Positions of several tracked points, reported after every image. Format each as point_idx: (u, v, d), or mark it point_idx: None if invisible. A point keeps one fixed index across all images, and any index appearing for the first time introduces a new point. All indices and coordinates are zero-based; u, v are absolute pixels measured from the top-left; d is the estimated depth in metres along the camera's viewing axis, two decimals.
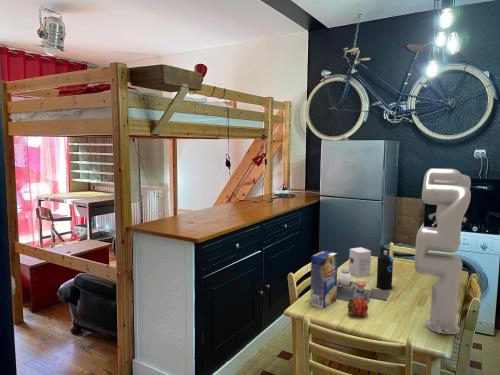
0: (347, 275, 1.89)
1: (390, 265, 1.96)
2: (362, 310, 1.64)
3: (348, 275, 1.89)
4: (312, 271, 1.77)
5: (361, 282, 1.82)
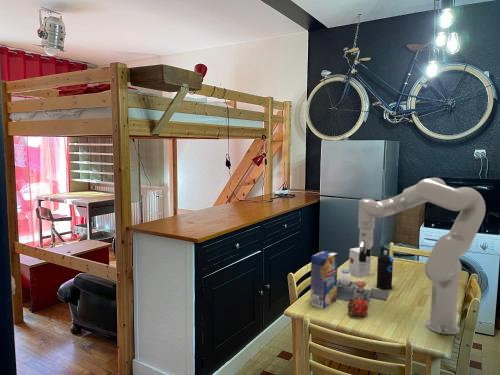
0: (347, 275, 1.89)
1: (390, 265, 1.96)
2: (362, 310, 1.64)
3: (348, 275, 1.89)
4: (312, 271, 1.77)
5: (361, 282, 1.82)
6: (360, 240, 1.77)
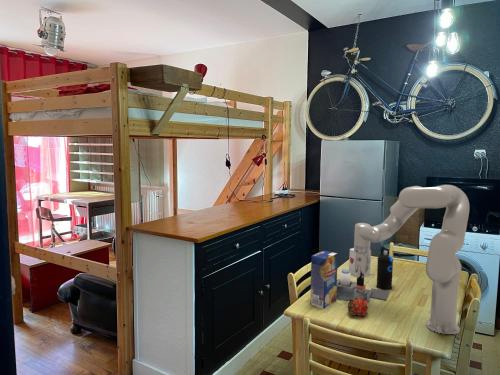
0: (347, 275, 1.89)
1: (390, 265, 1.96)
2: (362, 310, 1.64)
3: (348, 275, 1.89)
4: (312, 271, 1.77)
5: None
6: (356, 265, 1.77)
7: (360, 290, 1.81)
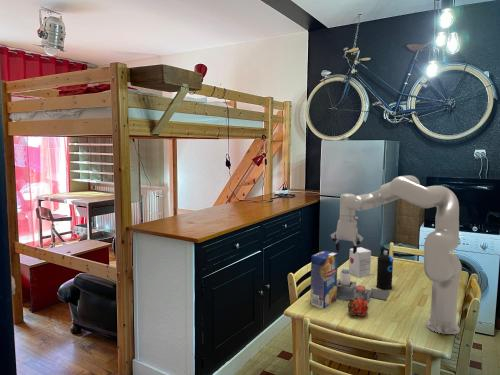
0: (347, 275, 1.89)
1: (390, 265, 1.96)
2: (362, 310, 1.64)
3: (348, 275, 1.89)
4: (312, 271, 1.77)
5: (361, 286, 1.83)
6: (356, 233, 1.86)
7: (360, 292, 1.81)
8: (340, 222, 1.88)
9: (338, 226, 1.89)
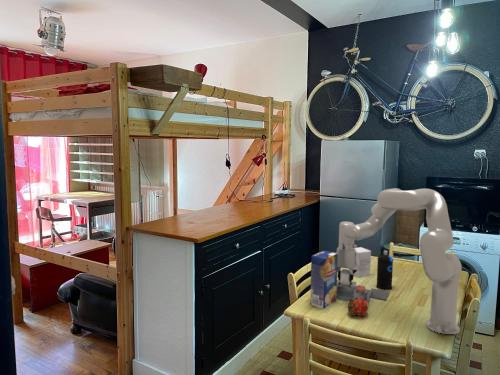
0: (347, 275, 1.89)
1: (390, 265, 1.96)
2: (362, 310, 1.64)
3: (348, 275, 1.89)
4: (312, 271, 1.77)
5: (361, 286, 1.83)
6: (355, 261, 1.87)
7: (360, 292, 1.81)
8: (339, 250, 1.90)
9: None
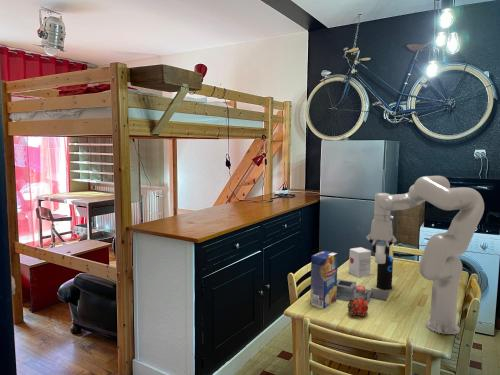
0: (383, 247, 1.85)
1: (390, 265, 1.96)
2: (362, 310, 1.64)
3: (384, 247, 1.85)
4: (312, 271, 1.77)
5: (361, 286, 1.83)
6: (391, 232, 1.83)
7: (360, 292, 1.81)
8: (375, 222, 1.85)
9: (373, 226, 1.86)
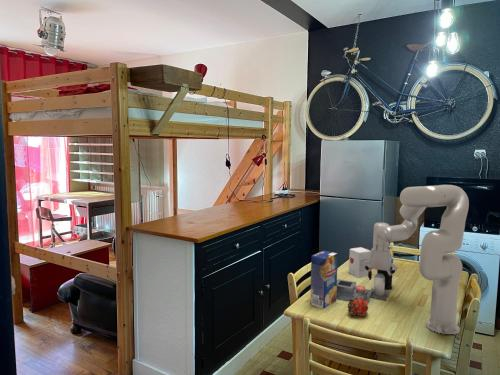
0: (382, 279, 1.87)
1: None
2: (362, 310, 1.64)
3: (383, 279, 1.87)
4: (312, 271, 1.77)
5: (361, 286, 1.83)
6: (390, 262, 1.85)
7: (360, 292, 1.81)
8: (374, 251, 1.87)
9: (371, 255, 1.88)
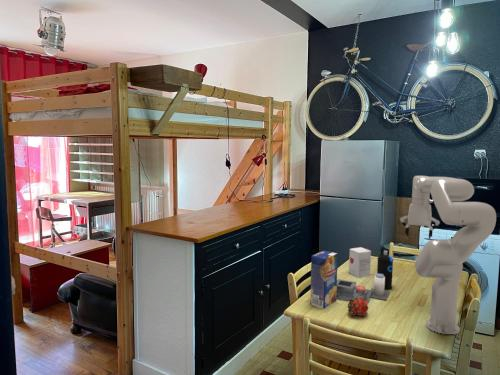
0: (382, 280, 1.87)
1: (390, 265, 1.96)
2: (362, 310, 1.64)
3: (383, 279, 1.87)
4: (312, 271, 1.77)
5: (361, 286, 1.83)
6: (430, 217, 1.74)
7: (360, 292, 1.81)
8: (413, 206, 1.77)
9: (411, 210, 1.77)
